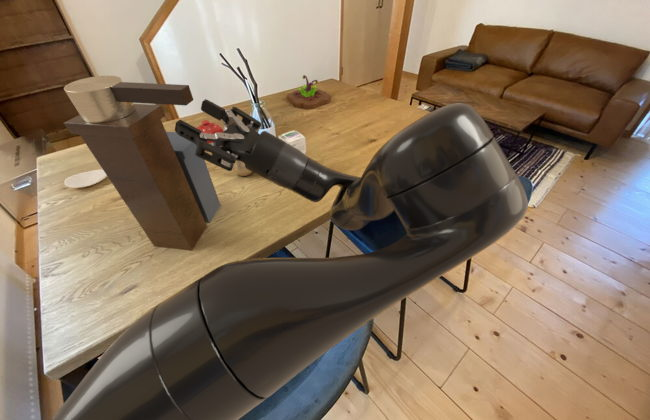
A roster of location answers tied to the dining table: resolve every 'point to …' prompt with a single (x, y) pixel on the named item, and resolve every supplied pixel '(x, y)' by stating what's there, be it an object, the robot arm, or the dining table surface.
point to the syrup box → (294, 140)
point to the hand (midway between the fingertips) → (190, 114)
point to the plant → (308, 96)
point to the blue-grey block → (196, 175)
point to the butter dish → (209, 128)
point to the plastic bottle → (239, 165)
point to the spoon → (85, 179)
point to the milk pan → (120, 97)
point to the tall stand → (146, 174)
